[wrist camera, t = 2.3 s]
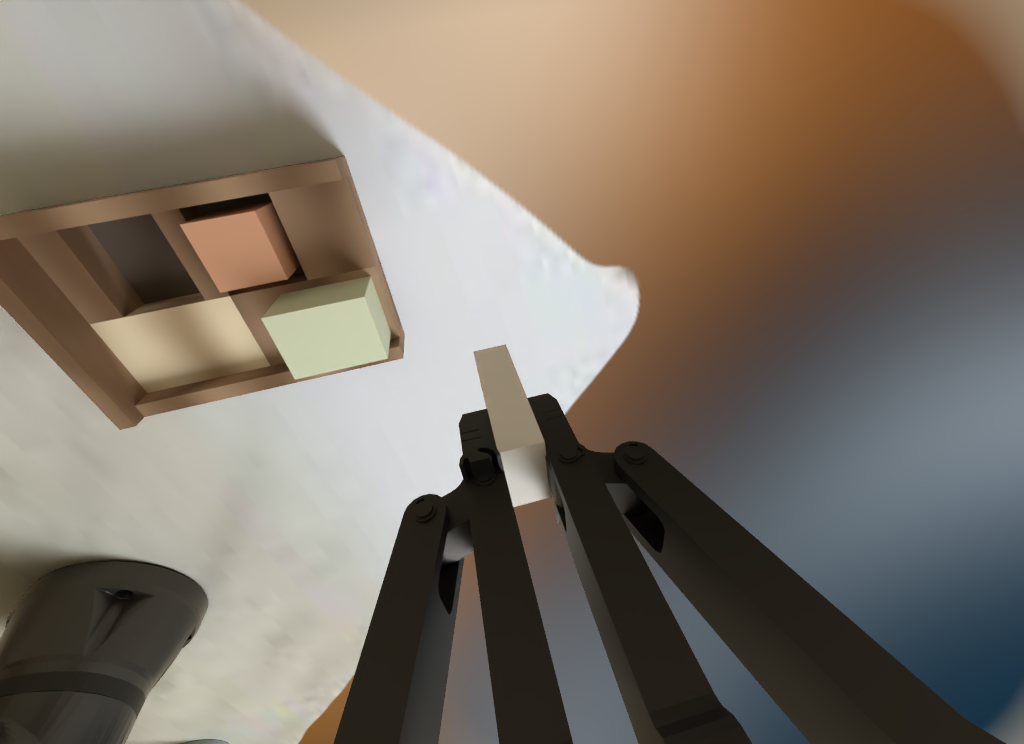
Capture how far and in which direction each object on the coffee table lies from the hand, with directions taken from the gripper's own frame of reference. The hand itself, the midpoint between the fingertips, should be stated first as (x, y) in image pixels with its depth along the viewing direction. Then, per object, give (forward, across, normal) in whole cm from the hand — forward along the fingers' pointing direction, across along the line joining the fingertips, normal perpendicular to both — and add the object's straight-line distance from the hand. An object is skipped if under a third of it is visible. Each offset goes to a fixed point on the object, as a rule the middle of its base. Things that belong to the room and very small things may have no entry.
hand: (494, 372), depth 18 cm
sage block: (+12, +9, 0) cm, 15 cm away
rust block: (+14, +13, -5) cm, 20 cm away
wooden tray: (+15, +15, -3) cm, 21 cm away
